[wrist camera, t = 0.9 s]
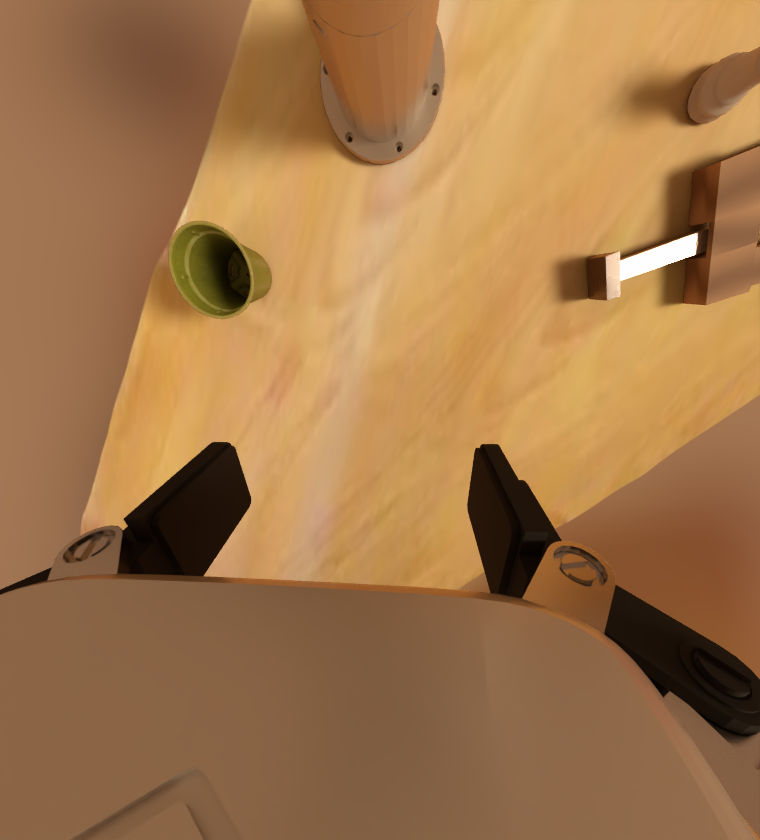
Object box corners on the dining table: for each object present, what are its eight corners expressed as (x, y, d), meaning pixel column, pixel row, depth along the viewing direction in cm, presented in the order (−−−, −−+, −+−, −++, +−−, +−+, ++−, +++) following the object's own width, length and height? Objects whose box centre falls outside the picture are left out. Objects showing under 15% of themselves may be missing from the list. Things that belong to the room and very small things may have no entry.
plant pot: (217, 303, 40) (172, 308, 32) (214, 225, 36) (161, 210, 28) (281, 318, 40) (252, 327, 33) (285, 243, 36) (254, 233, 28)
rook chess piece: (698, 137, 29) (795, 90, 22) (673, 103, 28) (766, 42, 21) (746, 87, 27) (867, 18, 20) (721, 49, 26) (839, -38, 19)
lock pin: (586, 259, 34) (605, 256, 31) (696, 218, 32) (729, 210, 29) (589, 299, 36) (607, 300, 33) (692, 263, 34) (723, 261, 30)
